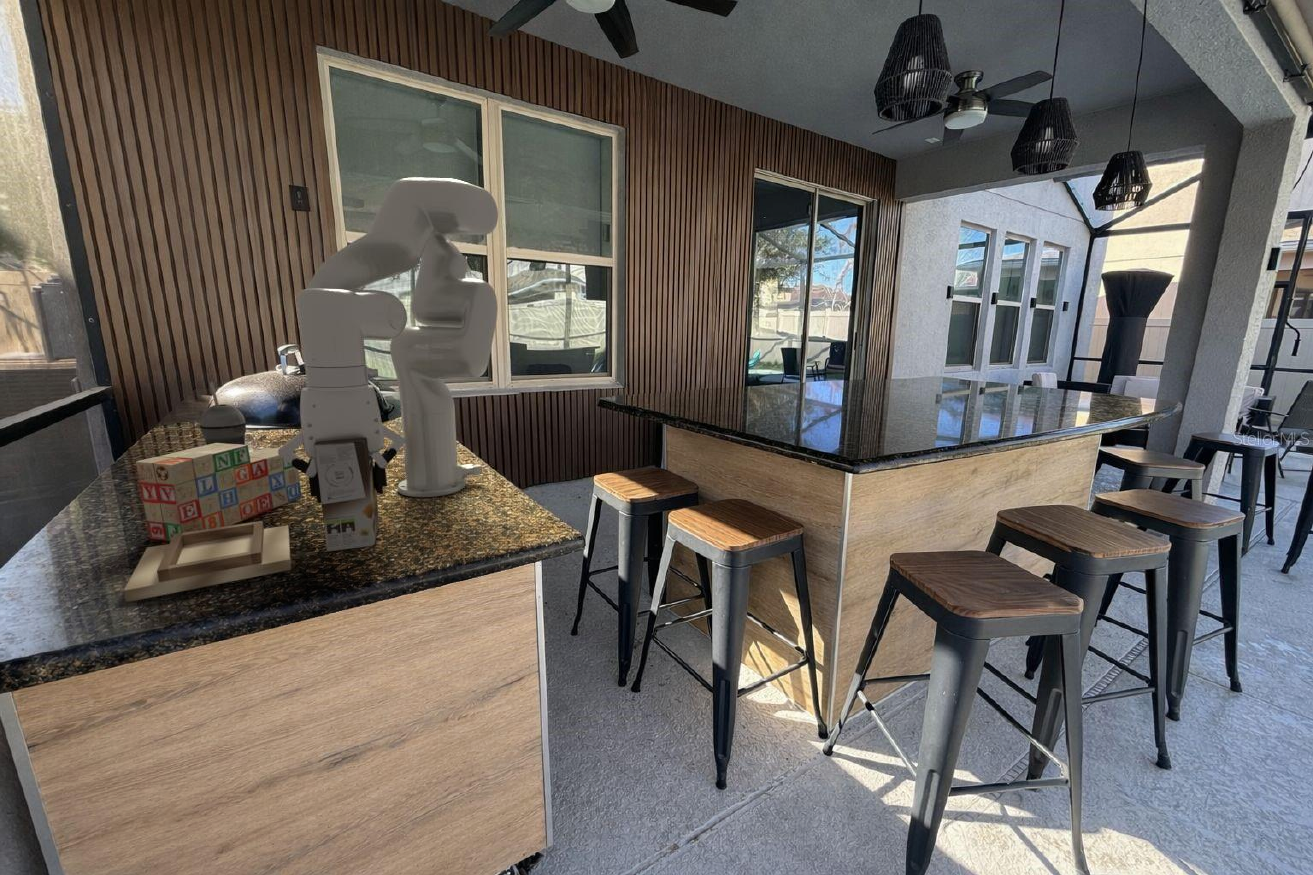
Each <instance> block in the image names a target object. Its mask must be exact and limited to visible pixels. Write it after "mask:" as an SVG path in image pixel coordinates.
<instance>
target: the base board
mask: <svg viewBox="0 0 1313 875" xmlns="http://www.w3.org/2000/svg"><path fill="white" fill-rule="evenodd" d="M291 563H292V561H291V542H290V530H289V525H288V524H287V525H280V526H276V527H275V526H274V527H269V528H264V522H263V520H258V521H253V522H246V523H239V524H238V523H237V524H233V525H230V526H225V527H218V528H211V529H205V530H198V531H192V532H185V533H178V534H174V535H173V537H172V539H171V541H169V544H162V545H156V546H155V545H154V546H149V547H146V549H145V551H144V553H143V554H142V556H141V557H140V560H139V562H138V564H137V565H136V567H135V569H134V571H133V573H132V574H131V576H130V578H129V580H128V582H127V583H126V586H125V587H124V589H123V594H124V600H125V603H129V602H134V601H140V600H144V599H149V598H156V597H159V596H164V595H166V596H167V595H171V594H175V593H180V592H184V591H185V592H186V591H190V590H195V589H200V588H207V587H211V586H215V585H220V584H225V583H229V582H236V581H240V580H247V579H251V578H254V577H255V578H256V577H259V576H265V575H266V576H267V575H270V574H271V575H272V574H276V573H281V572H285V571H291V570H292V564H291Z"/></svg>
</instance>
